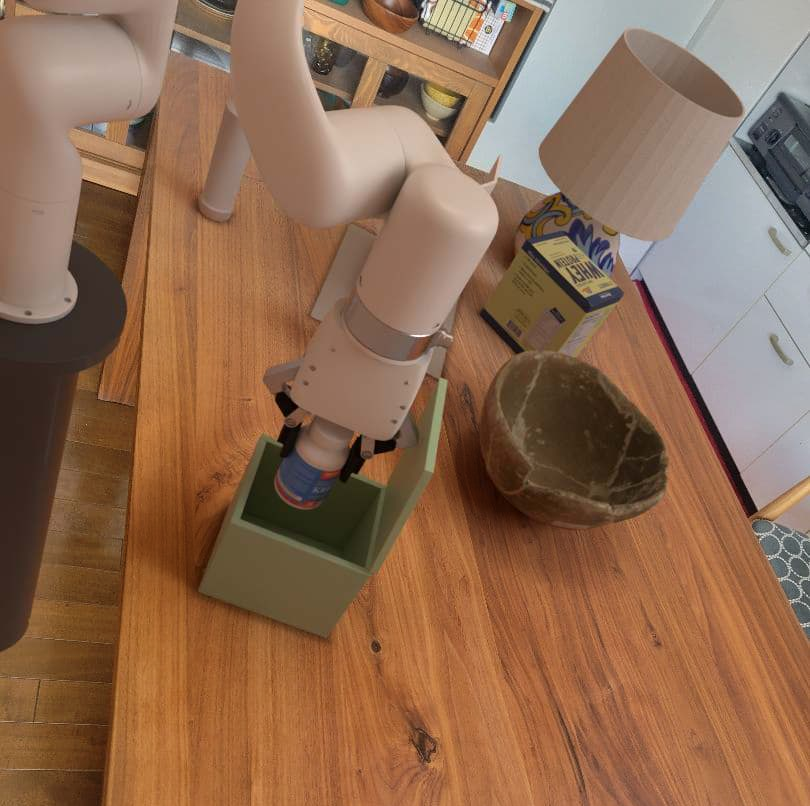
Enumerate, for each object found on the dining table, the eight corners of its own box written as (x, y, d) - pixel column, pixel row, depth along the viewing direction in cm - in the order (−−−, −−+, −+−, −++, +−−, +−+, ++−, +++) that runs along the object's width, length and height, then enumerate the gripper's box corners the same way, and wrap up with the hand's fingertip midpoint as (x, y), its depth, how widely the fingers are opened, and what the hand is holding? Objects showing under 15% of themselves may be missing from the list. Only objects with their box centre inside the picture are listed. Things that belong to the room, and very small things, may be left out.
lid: (424, 469, 72) (433, 472, 72) (439, 376, 81) (448, 380, 81) (368, 572, 84) (377, 575, 84) (387, 482, 92) (394, 484, 92)
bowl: (581, 610, 113) (652, 547, 102) (413, 494, 112) (467, 418, 101) (625, 491, 132) (689, 428, 121) (482, 391, 131) (533, 318, 120)
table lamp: (626, 340, 159) (783, 149, 130) (503, 309, 147) (646, 91, 118) (584, 247, 174) (717, 57, 145) (468, 212, 162) (589, -3, 133)
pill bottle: (306, 520, 84) (342, 457, 77) (262, 487, 84) (294, 421, 77) (334, 491, 87) (371, 428, 80) (292, 459, 88) (325, 394, 80)
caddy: (197, 591, 90) (229, 521, 81) (229, 505, 98) (261, 432, 89) (325, 638, 93) (371, 576, 84) (346, 551, 102) (389, 486, 92)
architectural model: (350, 222, 142) (409, 90, 126) (462, 280, 147) (533, 161, 130) (310, 316, 124) (372, 176, 107) (439, 379, 128) (519, 254, 111)
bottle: (232, 207, 131) (283, 48, 113) (230, 227, 128) (281, 67, 110) (198, 195, 129) (244, 32, 111) (195, 215, 126) (242, 50, 108)
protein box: (512, 301, 150) (561, 228, 139) (573, 363, 147) (627, 293, 136) (477, 313, 143) (525, 237, 132) (539, 378, 140) (594, 306, 129)
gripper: (487, 336, 74) (400, 467, 87) (301, 248, 70) (240, 399, 83) (481, 391, 69) (390, 521, 82) (280, 300, 65) (219, 452, 78)
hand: (315, 459), depth 82 cm, fingers closed on pill bottle, 5 cm apart
